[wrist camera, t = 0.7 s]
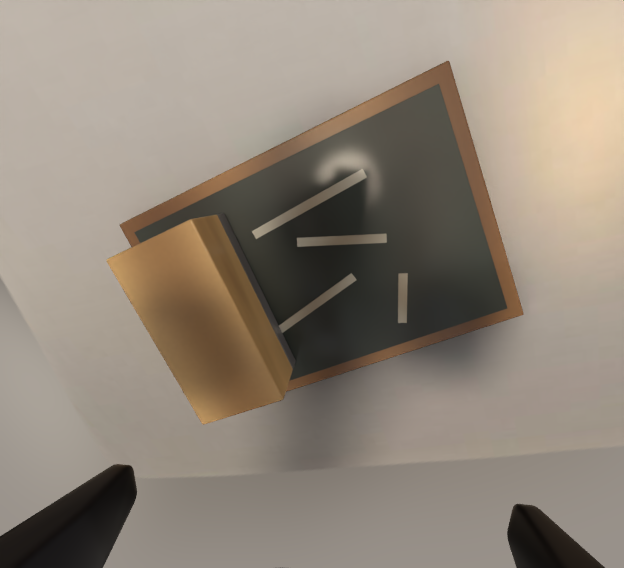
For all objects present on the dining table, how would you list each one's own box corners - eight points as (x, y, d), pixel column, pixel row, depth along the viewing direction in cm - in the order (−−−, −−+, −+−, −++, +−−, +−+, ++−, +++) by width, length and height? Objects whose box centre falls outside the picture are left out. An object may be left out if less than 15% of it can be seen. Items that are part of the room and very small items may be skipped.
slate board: (228, 404, 23) (222, 414, 22) (127, 223, 20) (115, 225, 19) (517, 309, 19) (526, 316, 18) (444, 65, 16) (450, 57, 15)
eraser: (228, 383, 21) (202, 425, 18) (153, 246, 19) (104, 259, 15) (296, 360, 20) (283, 400, 17) (224, 212, 18) (191, 218, 14)
